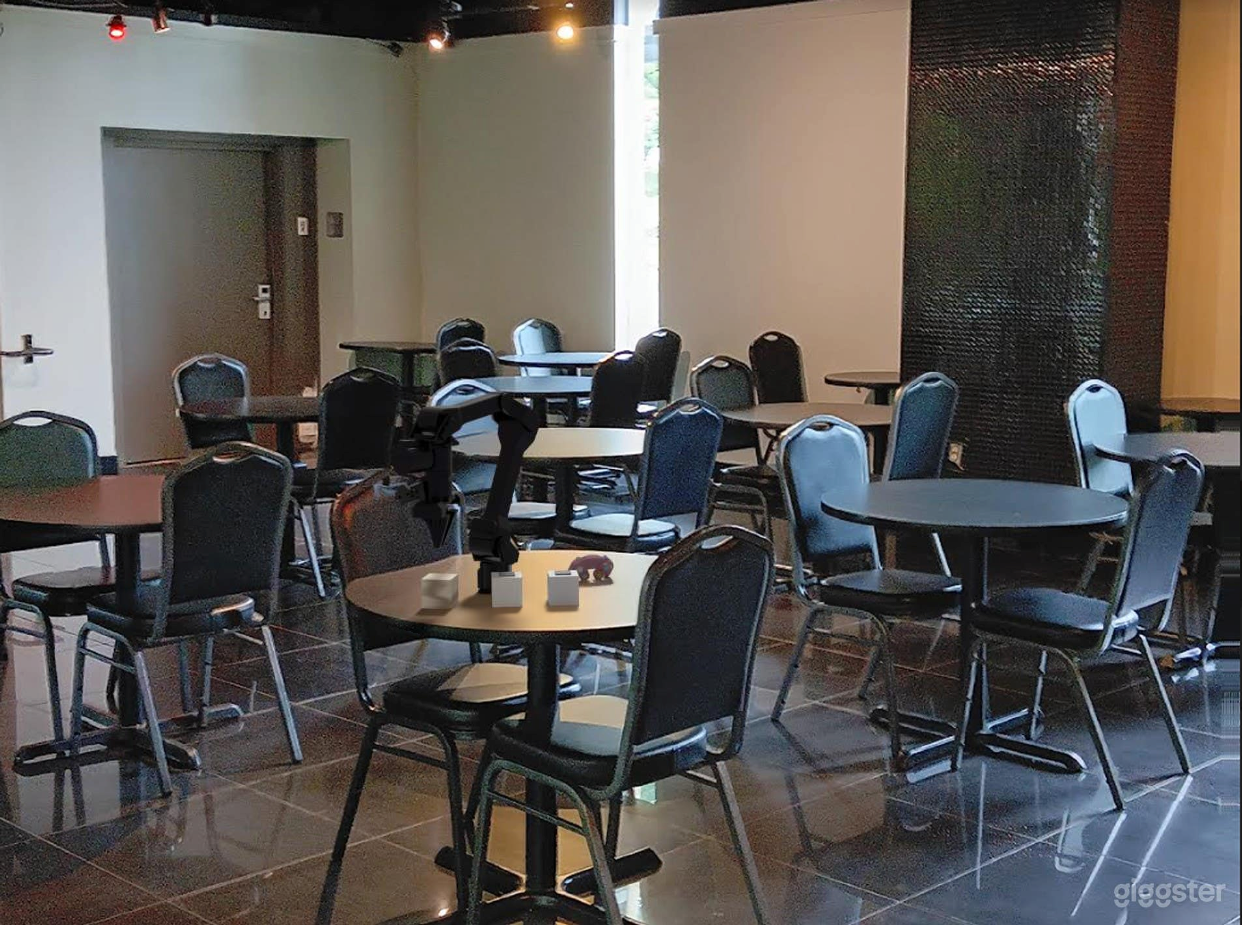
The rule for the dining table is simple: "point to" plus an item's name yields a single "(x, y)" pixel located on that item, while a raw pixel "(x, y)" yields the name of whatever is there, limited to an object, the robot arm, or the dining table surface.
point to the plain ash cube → (439, 591)
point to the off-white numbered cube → (507, 589)
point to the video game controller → (592, 566)
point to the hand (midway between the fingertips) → (439, 546)
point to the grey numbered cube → (563, 587)
